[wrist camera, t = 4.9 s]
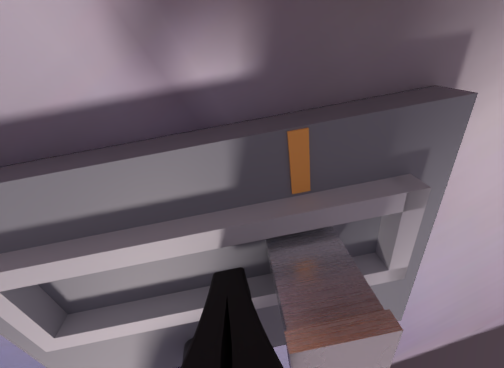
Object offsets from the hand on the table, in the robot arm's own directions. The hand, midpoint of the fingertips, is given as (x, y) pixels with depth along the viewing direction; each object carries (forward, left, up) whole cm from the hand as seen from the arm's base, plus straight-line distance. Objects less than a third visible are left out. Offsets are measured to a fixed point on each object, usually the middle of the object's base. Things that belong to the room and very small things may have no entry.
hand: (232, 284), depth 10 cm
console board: (-2, +1, -4) cm, 4 cm away
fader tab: (0, -3, -1) cm, 4 cm away
